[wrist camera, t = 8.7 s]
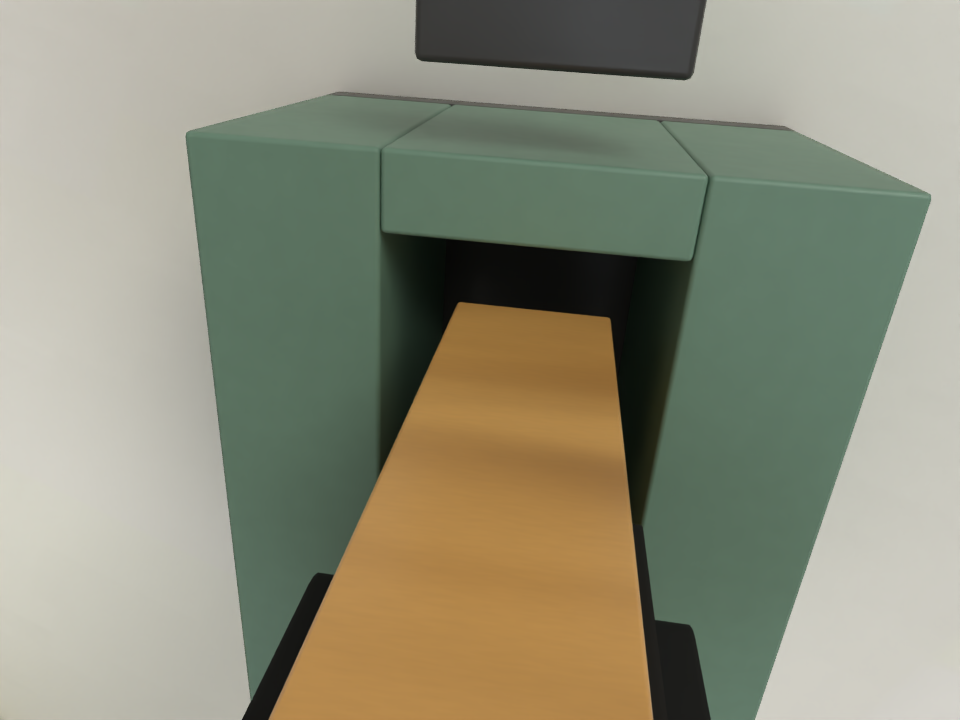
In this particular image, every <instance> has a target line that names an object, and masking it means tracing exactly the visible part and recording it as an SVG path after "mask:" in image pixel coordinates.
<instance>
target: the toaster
mask: <svg viewBox="0 0 960 720" xmlns="http://www.w3.org/2000/svg"><path fill="white" fill-rule="evenodd" d="M186 145H187V153H188V162H189V171H190V179H191V188H192V197H193V205H194V214H195V223H196V231H197V240H198V248H199V257H200V266H201V274H202V283H203V292H204V300H205V309H206V318H207V326H208V335H209V344H210V352H211V361H212V370H213V378H214V387H215V395H216V404H217V413H218V421H219V430H220V439H221V447H222V456H223V465H224V473H225V482H226V491H227V499H228V508H229V517H230V525H231V534H232V542H233V551H234V560H235V568H236V577H237V586H238V594H239V603H240V612H241V620H242V629H243V638H244V646H245V655H246V664H247V672H248V681H249V689H250V698H251V700H252V698H253V696H254V694H255V692H256V690H257V688H258V686H259V684H260V682H261V680H262V678H263V676H264V674H265V672H266V670H267V668H268V666H269V664H270V662H271V660H272V658H273V656H274V654H275V652H276V649H277V647H278V645H279V643H280V641H281V639H282V637H283V635H284V633H285V631H286V629H287V627H288V625H289V623H290V621H291V619H292V617H293V615H294V613H295V611H296V609H297V607H298V605H299V603H300V601H301V599H302V596H303V594H304V592H305V590H306V588H307V586H308V584H309V583H310V581H311V579H312V578H313V576H314V575H315V574H316V573H325V574H333V575H334V574H335V572H336V570H337V568H338V566H339V563H340V561H341V559H342V557H343V555H344V552H345V550H346V548H347V546H348V544H349V541H350V539H351V537H352V535H353V533H354V530H355V528H356V526H357V524H358V522H359V519H360V517H361V515H362V513H363V510H364V508H365V506H366V504H367V502H368V499H369V497H370V495H371V493H372V491H373V488H374V486H375V484H376V482H377V480H378V477H379V475H380V473H381V471H382V469H383V466H384V464H385V462H386V460H387V458H388V455H389V453H390V451H391V449H392V447H393V444H394V442H395V440H396V438H397V436H398V433H399V431H400V429H401V427H402V425H403V422H404V420H405V418H406V416H407V414H408V411H409V409H410V407H411V405H412V403H413V400H414V398H415V396H416V394H417V391H418V389H419V387H420V385H421V383H422V380H423V378H424V376H425V374H426V372H427V369H428V367H429V365H430V363H431V361H432V358H433V356H434V354H435V352H436V350H437V347H438V345H439V343H440V341H441V339H442V336H443V334H444V332H445V330H446V328H447V325H448V323H449V321H450V319H451V317H452V314H453V312H454V310H455V308H456V306H457V304H458V303H459V302H463V303H473V304H483V305H492V306H502V307H511V308H521V309H531V310H540V311H550V312H560V313H569V314H579V315H588V316H598V317H608V318H610V321H611V329H612V338H613V348H614V357H615V367H616V376H617V385H618V395H619V404H620V413H621V423H622V432H623V441H624V451H625V460H626V469H627V479H628V488H629V497H630V507H631V516H632V524H637V525H642V527H643V531H644V539H645V547H646V554H647V562H648V570H649V578H650V585H651V593H652V601H653V609H654V617H655V620H660V621H667V622H674V623H681V624H688V625H690V626H691V627H692V629H693V632H694V635H695V639H696V644H697V649H698V655H699V660H700V665H701V670H702V676H703V681H704V686H705V691H706V696H707V702H708V707H709V712H710V717H711V720H755V718H756V715H757V712H758V709H759V706H760V703H761V700H762V697H763V694H764V691H765V688H766V685H767V682H768V679H769V676H770V673H771V670H772V667H773V664H774V661H775V659H776V656H777V653H778V650H779V647H780V644H781V641H782V638H783V635H784V632H785V629H786V626H787V623H788V620H789V617H790V614H791V611H792V608H793V605H794V603H795V600H796V597H797V594H798V591H799V588H800V585H801V582H802V579H803V576H804V573H805V570H806V567H807V564H808V561H809V558H810V555H811V552H812V549H813V546H814V544H815V541H816V538H817V535H818V532H819V529H820V526H821V523H822V520H823V517H824V514H825V511H826V508H827V505H828V502H829V499H830V496H831V493H832V490H833V487H834V485H835V482H836V479H837V476H838V473H839V470H840V467H841V464H842V461H843V458H844V455H845V452H846V449H847V446H848V443H849V440H850V437H851V434H852V431H853V429H854V426H855V423H856V420H857V417H858V414H859V411H860V408H861V405H862V402H863V399H864V396H865V393H866V390H867V387H868V384H869V381H870V378H871V375H872V372H873V370H874V367H875V364H876V361H877V358H878V355H879V352H880V349H881V346H882V343H883V340H884V337H885V334H886V331H887V328H888V325H889V322H890V319H891V316H892V314H893V311H894V308H895V305H896V302H897V299H898V296H899V293H900V290H901V287H902V284H903V281H904V278H905V275H906V272H907V269H908V266H909V263H910V260H911V257H912V255H913V252H914V249H915V246H916V243H917V240H918V237H919V234H920V231H921V228H922V225H923V222H924V219H925V216H926V213H927V210H928V207H929V204H930V201H931V195H930V194H928V193H927V192H925V191H922V190H920V189H918V188H916V187H914V186H912V185H910V184H907V183H905V182H903V181H901V180H899V179H897V178H894V177H892V176H890V175H888V174H886V173H884V172H882V171H879V170H877V169H875V168H873V167H871V166H869V165H866V164H864V163H862V162H860V161H858V160H856V159H854V158H851V157H849V156H847V155H845V154H843V153H841V152H838V151H836V150H834V149H832V148H830V147H828V146H826V145H823V144H821V143H819V142H817V141H815V140H813V139H810V138H808V137H806V136H804V135H802V134H800V133H798V132H795V131H794V130H792V129H789V128H787V127H785V126H774V125H761V124H748V123H735V122H722V121H710V120H697V119H684V118H671V117H658V116H645V115H632V114H619V113H607V112H594V111H581V110H568V109H555V108H542V107H529V106H517V105H504V104H491V103H478V102H465V101H452V100H439V99H426V98H414V97H401V96H388V95H375V94H362V93H349V92H336V93H332V94H329V95H325V96H322V97H318V98H314V99H310V100H306V101H302V102H299V103H295V104H291V105H287V106H283V107H279V108H275V109H272V110H268V111H264V112H260V113H256V114H252V115H249V116H245V117H241V118H237V119H233V120H229V121H225V122H222V123H218V124H214V125H210V126H206V127H202V128H199V129H195V130H191V131H188V132H187V133H186Z"/></svg>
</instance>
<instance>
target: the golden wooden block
mask: <svg viewBox="0 0 960 720" xmlns="http://www.w3.org/2000/svg"><path fill="white" fill-rule="evenodd" d="M269 720H653V712H652V703H651V694H650V684H649V675H648V665H647V656H646V647H645V637H644V628H643V619H642V609H641V600H640V591H639V581H638V572H637V563H636V553H635V544H634V535H633V525H632V516H631V507H630V497H629V488H628V479H627V469H626V460H625V451H624V441H623V432H622V423H621V413H620V404H619V395H618V385H617V376H616V367H615V357H614V348H613V338H612V329H611V321H610V318H608V317H598V316H588V315H579V314H569V313H560V312H550V311H540V310H531V309H521V308H511V307H502V306H492V305H483V304H473V303H463V302H459V303H458V304H457V306H456V308H455V310H454V312H453V314H452V317H451V319H450V321H449V323H448V325H447V328H446V330H445V332H444V334H443V336H442V339H441V341H440V343H439V345H438V347H437V350H436V352H435V354H434V356H433V358H432V361H431V363H430V365H429V367H428V369H427V372H426V374H425V376H424V378H423V380H422V383H421V385H420V387H419V389H418V391H417V394H416V396H415V398H414V400H413V403H412V405H411V407H410V409H409V411H408V414H407V416H406V418H405V420H404V422H403V425H402V427H401V429H400V431H399V433H398V436H397V438H396V440H395V442H394V444H393V447H392V449H391V451H390V453H389V455H388V458H387V460H386V462H385V464H384V466H383V469H382V471H381V473H380V475H379V477H378V480H377V482H376V484H375V486H374V488H373V491H372V493H371V495H370V497H369V499H368V502H367V504H366V506H365V508H364V510H363V513H362V515H361V517H360V519H359V522H358V524H357V526H356V528H355V530H354V533H353V535H352V537H351V539H350V541H349V544H348V546H347V548H346V550H345V552H344V555H343V557H342V559H341V561H340V563H339V566H338V568H337V570H336V572H335V574H334V577H333V579H332V581H331V583H330V585H329V588H328V590H327V592H326V594H325V596H324V599H323V601H322V603H321V605H320V607H319V610H318V612H317V614H316V616H315V618H314V621H313V623H312V625H311V627H310V629H309V632H308V634H307V636H306V638H305V641H304V643H303V645H302V647H301V649H300V652H299V654H298V656H297V658H296V660H295V663H294V665H293V667H292V669H291V671H290V674H289V676H288V678H287V680H286V682H285V685H284V687H283V689H282V691H281V693H280V696H279V698H278V700H277V702H276V704H275V707H274V709H273V711H272V713H271V715H270V718H269Z"/></svg>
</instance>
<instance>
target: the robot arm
mask: <svg viewBox="0 0 960 720" xmlns="http://www.w3.org/2000/svg"><path fill="white" fill-rule="evenodd" d="M632 525H633V535H634V544H635V553H636V563H637V572H638V581H639V591H640V600H641V609H642V619H643V628H644V637H645V647H646V656H647V665H648V675H649V684H650V694H651V703H652V712H653V720H711V717H710V712H709V707H708V702H707V696H706V691H705V686H704V681H703V676H702V670H701V665H700V660H699V655H698V649H697V644H696V639H695V635H694V632H693V629H692V627H691V626H690V625H688V624H681V623H674V622H667V621H660V620H655V617H654V609H653V601H652V593H651V585H650V578H649V570H648V562H647V554H646V547H645V539H644V531H643V527H642V525H637V524H632ZM333 577H334V575H333V574H325V573H316V574H315V575H314V576H313V578H312V579H311V581H310V583H309V584H308V586H307V588H306V590H305V592H304V594H303V596H302V599H301V601H300V603H299V605H298V607H297V609H296V611H295V613H294V615H293V617H292V619H291V621H290V623H289V625H288V627H287V629H286V631H285V633H284V635H283V637H282V639H281V641H280V643H279V645H278V647H277V649H276V652H275V654H274V656H273V658H272V660H271V662H270V664H269V666H268V668H267V670H266V672H265V674H264V676H263V678H262V680H261V682H260V684H259V686H258V688H257V690H256V692H255V694H254V696H253V698H252V700H251V702H250V705H249V707H248V709H247V711H246V713H245V715H244V717H243V719H242V720H269V718H270V715H271V713H272V711H273V709H274V707H275V704H276V702H277V700H278V698H279V696H280V693H281V691H282V689H283V687H284V685H285V682H286V680H287V678H288V676H289V674H290V671H291V669H292V667H293V665H294V663H295V660H296V658H297V656H298V654H299V652H300V649H301V647H302V645H303V643H304V641H305V638H306V636H307V634H308V632H309V629H310V627H311V625H312V623H313V621H314V618H315V616H316V614H317V612H318V610H319V607H320V605H321V603H322V601H323V599H324V596H325V594H326V592H327V590H328V588H329V585H330V583H331V581H332V579H333Z"/></svg>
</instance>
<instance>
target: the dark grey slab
mask: <svg viewBox="0 0 960 720" xmlns="http://www.w3.org/2000/svg"><path fill="white" fill-rule="evenodd" d="M706 1H707V0H416V27H415V54H416V57H417V59H419V60H421V61H428V62H442V63H455V64H469V65H483V66H496V67H510V68H524V69H537V70H551V71H565V72H579V73H592V74H606V75H620V76H633V77H647V78H661V79H674V80H687V79H690V78H691V76H692V75H693V73H694V68H695V62H696V57H697V51H698V46H699V40H700V34H701V29H702V23H703V18H704V12H705V6H706Z"/></svg>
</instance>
